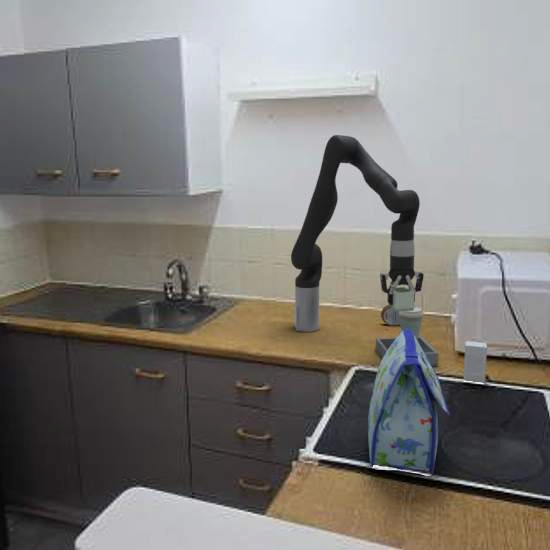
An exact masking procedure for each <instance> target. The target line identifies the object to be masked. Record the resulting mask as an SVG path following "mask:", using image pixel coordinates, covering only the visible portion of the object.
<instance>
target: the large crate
mask: <svg viewBox="0 0 550 550" xmlns="http://www.w3.org/2000/svg"><path fill="white" fill-rule="evenodd" d="M396 338H397V337H380V338H375V353H376V354H377V353H378V354H379V355H378V356H379V358H380V357H381V358H382V359H383V357H384V355H385V353H386V351H387V350H388V348H389V347H390V346H391V344H392V343H393V342H394V340H395V339H396ZM416 339H417V341H418V343H419V344H420V346H421V348H422V350H423V352H424V353H425V355H426V357H427V359H428V361H429V363H430V365H431V366H432V368H434V367H435V366H436V367H439V352H438V351H437V350H436V349H435V347H433V346H431V345H430V343H429V342H428V341H427V340H426V339H425V338H424V337H422V336H419V337H416ZM381 358H380V359H381ZM382 359H381V360H382ZM436 367H435V368H436Z"/></svg>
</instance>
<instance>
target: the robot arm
mask: <svg viewBox="0 0 550 550" xmlns="http://www.w3.org/2000/svg"><path fill="white" fill-rule="evenodd" d="M340 164H350V165H352V166H353V167H355V168H356V169H358V170H359V171H360V173H361V174H362V177H363V180H364V182H365V183H366V185H367V186H368V187H369V188H370V189H371V190H372V191H373V192H375V193H376V194H377V195H378V196H379V198H380V199H381V201H382V203H383V204H384V206H385V207H386V209H387V210H388V211H390V212H391V213H393V214H399V216H398V217H399V218H398V219H396V220H395V221H393V222H392V223H391V228H390V230H391V232H390V235H391V236H390V237H391V238H390V239H391V240H390V246H389V247H390V248H389V271H388V272H387V273H382V272H381V273H380V274H379V278H380V286H381V291H382V292H383V293H385V294H387V304H388V305H389V304H390V305H393V291H394V290H395V288H396V287H398V286H403V285H404V286H406V287H408V288H409V289H411V290H412V291H413V292H414V303H415V302H416V293H417V292H421V291H422V286H423V282H424V273H423V272H421V271H418V272H416V271H415V241H414V240H415V225H416V222H417V216H418V213H419V210H420V205H421V203H420V202H421V201H420V197H419V195H418V193H417V192H416V191H415V190H412V189H405V190H399V189H398V182H397V180H396V179H395V178H394V177H393V176H391V174H389V173H388V172H387V171H386V170H384V168H382V167H381V165H379V164H378V163H377V161H375V160H374V159H373V158H372V156H371V155H370V154H369V152H368V151H366V149H365V148H364V146H363V145H362V144H361V142H360V141H359V140H358V139H357V138H355V137H354V136H350V135H342V134H334V135H332V136H330V138H329V139H328V141H327V143H326V145H325V148H324V153H323V157H322V162H321V164H320V170H319V174H318V176H317V177H318V178H317V180H316V185H315V187H314V190H313V193H312V195H311V198H310V203H309V205H308V208H307V212H306V215H305V218H304V221H303V224H302V227H301V228H300V229H301V230H300V231H299V235H298V237H297V239H296V241H295V244H294V246H293V248H292V251H291V254H290V261H291V264H292V266H293V267H294V269H296V270H299V271H300V272H299V274H298V275H297V276H296V278H295V282H294V283H295V284H294V286H295V287H294V293H295V294H294V297H295V298H294V299H295V300H294V329H295V331H296V332H304V333H305V332H307V333H310V332H311V333H312V332H317V331H318V330H320V282H321V280H322V274H323V251H322V250H321V247H320V246H319V245H318V244H317V243H316V242H317V240H318V238H319V237H320V235H321V233H322V232H323V231H324V230H325V228H326V227H327V225H328V224H329V222H331V219H332V218H333V215H334V213H335V211H336V207H337V204H338V201H339V200H338V198H339V195H338V190H337V189H338V188H337V184H336V178H337V173H338V170H339V167H340ZM414 277H415V279H416V280H415V281H416V282H415V285H414V284H413V282H412V281H413V278H414ZM389 278H390V279H391V281H390V283H389V287H388V285H387V281H388V280H389Z"/></svg>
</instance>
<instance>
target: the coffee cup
mask: <svg viewBox="0 0 550 550" xmlns="http://www.w3.org/2000/svg"><path fill="white" fill-rule="evenodd" d="M399 314H400V324H401V326H400V332H401V331H402V330H405V329H409V330H410V331H411V332H412V333H414V334H415V337H420V333H421V329H422V328H421V326H422V323H423V322H422V321H423V316H424V312H423V309H422V308H421V307H420V306H415V305H414V311H399Z"/></svg>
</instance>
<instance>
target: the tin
mask: <svg viewBox="0 0 550 550" xmlns="http://www.w3.org/2000/svg"><path fill="white" fill-rule="evenodd" d="M380 317H381V319H382V321H383V323H384V324H385V325H388V326H392V327H394V326H395V327H401V324H400V314H399V311H394V310H393V309H392V308H391V307H390V306H389V304H387V305H385V306H384V307H383V308H382V309H381V313H380Z"/></svg>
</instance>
